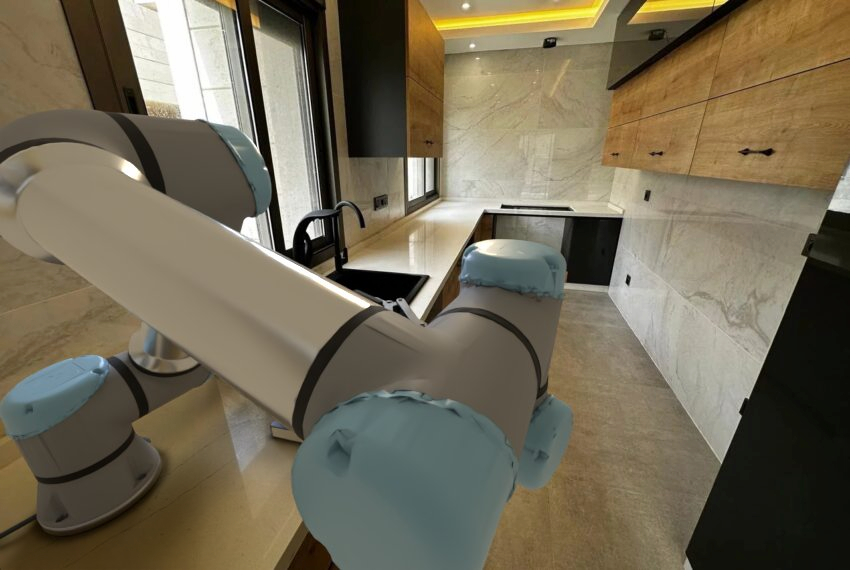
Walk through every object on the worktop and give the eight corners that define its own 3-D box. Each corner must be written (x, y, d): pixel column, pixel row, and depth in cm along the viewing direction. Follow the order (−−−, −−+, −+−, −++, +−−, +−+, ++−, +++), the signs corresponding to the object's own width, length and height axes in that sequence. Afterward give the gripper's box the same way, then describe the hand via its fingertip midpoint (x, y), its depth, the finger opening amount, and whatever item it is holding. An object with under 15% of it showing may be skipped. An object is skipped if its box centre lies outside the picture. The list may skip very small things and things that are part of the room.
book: (315, 446, 65) (314, 435, 63) (271, 437, 67) (269, 425, 66) (347, 399, 77) (346, 388, 76) (310, 392, 80) (308, 382, 78)
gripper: (318, 468, 28) (233, 367, 42) (481, 353, 45) (383, 307, 59) (308, 399, 26) (220, 315, 39) (485, 304, 43) (381, 268, 56)
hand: (318, 310), depth 49 cm, fingers open, 13 cm apart
